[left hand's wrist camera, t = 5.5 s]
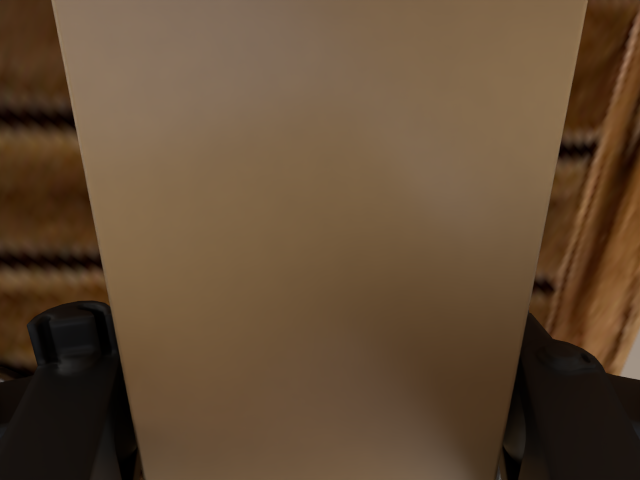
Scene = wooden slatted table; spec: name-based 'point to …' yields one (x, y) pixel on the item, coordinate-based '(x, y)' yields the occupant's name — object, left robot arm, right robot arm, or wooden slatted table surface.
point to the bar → (319, 223)
